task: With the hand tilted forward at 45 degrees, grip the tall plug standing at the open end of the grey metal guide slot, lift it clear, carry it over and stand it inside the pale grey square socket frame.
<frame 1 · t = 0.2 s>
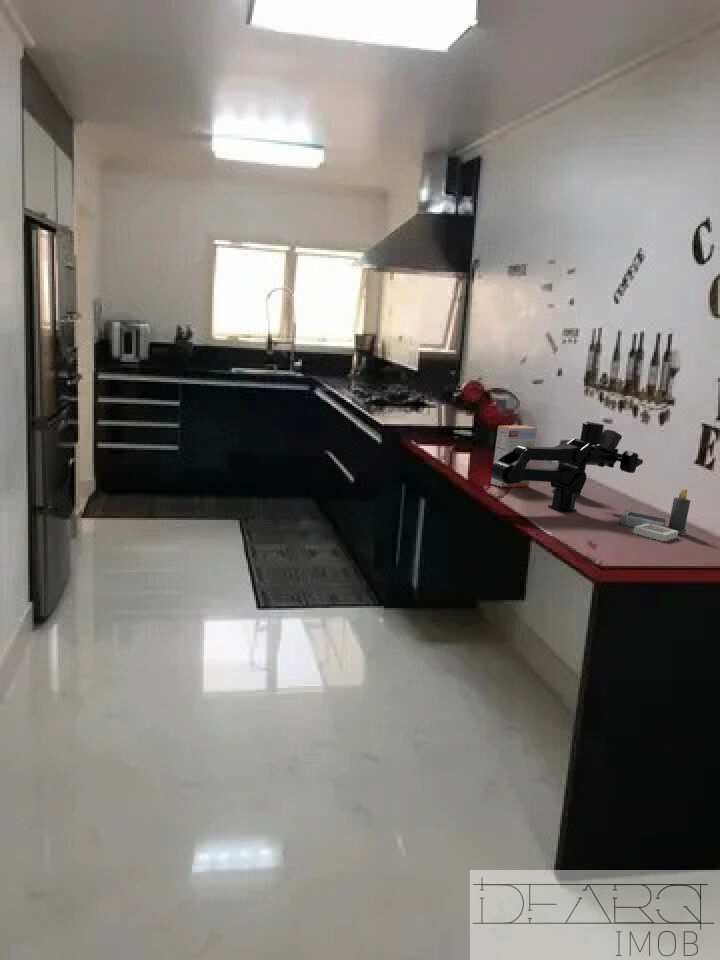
hand: (631, 458, 256), 17 cm above the table, tool horizontal, fingers open, 9 cm apart
cracker box: (509, 486, 277), on the table
coffee jar: (565, 494, 275), on the table
socket: (655, 535, 227), on the table
guide block: (650, 527, 237), on the table
plug: (675, 532, 234), on the table
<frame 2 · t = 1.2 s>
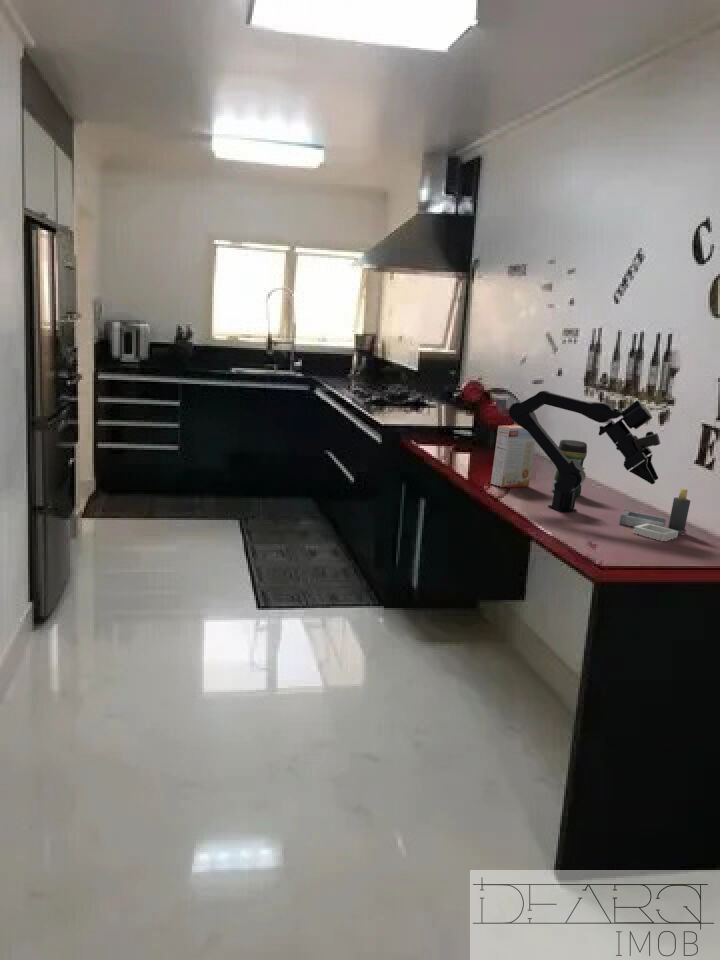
hand: (655, 481, 235), 14 cm above the table, tool tilted 45°, fingers open, 9 cm apart
nothing on the table moved.
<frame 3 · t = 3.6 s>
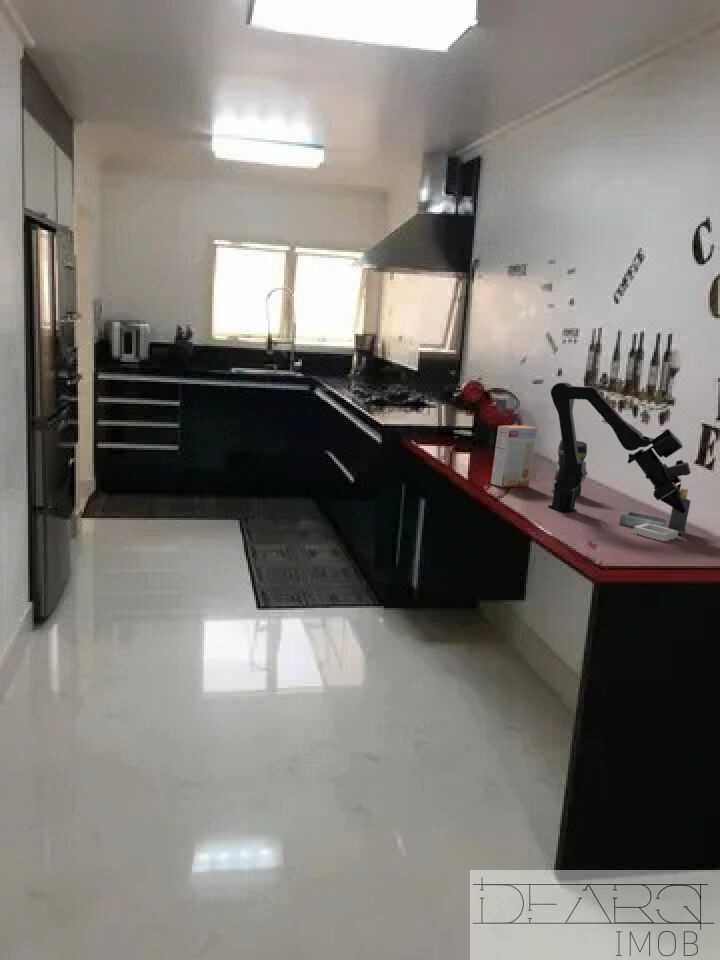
hand: (685, 510, 232), 7 cm above the table, tool tilted 45°, fingers closed on plug, 4 cm apart
plug: (675, 532, 234), on the table, touching gripper
everything else where it was.
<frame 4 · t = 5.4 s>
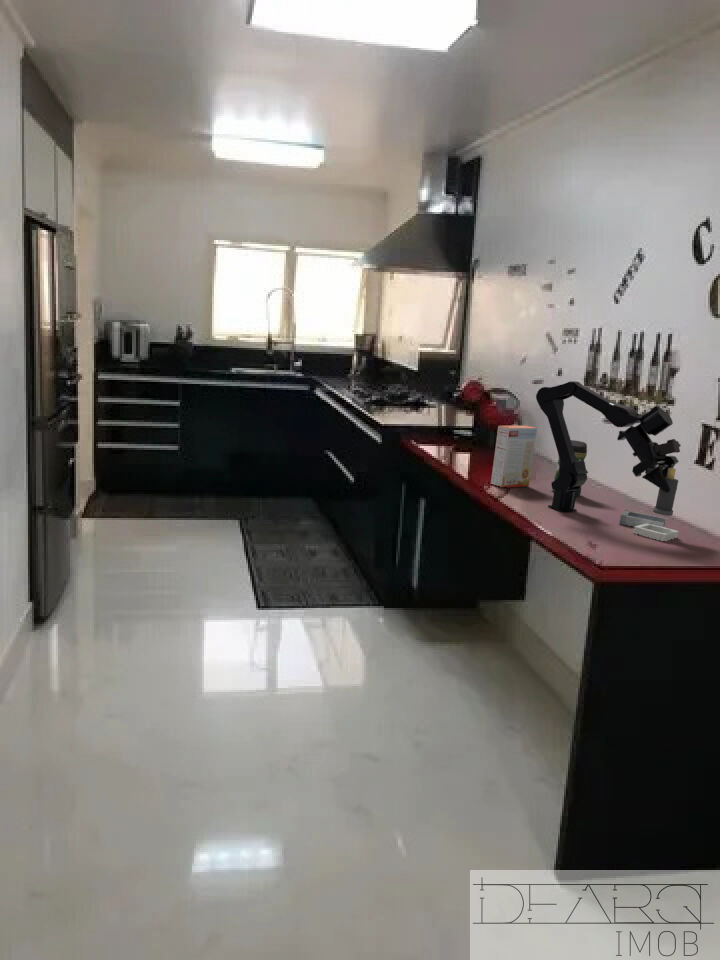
hand: (672, 491, 224), 13 cm above the table, tool tilted 45°, fingers closed on plug, 4 cm apart
plug: (662, 513, 226), point 7 cm above the table, touching gripper
everything else where it was.
when the fingers open (8 cm above the table, at t = 6.9 s): plug stays where it is, resting in socket.
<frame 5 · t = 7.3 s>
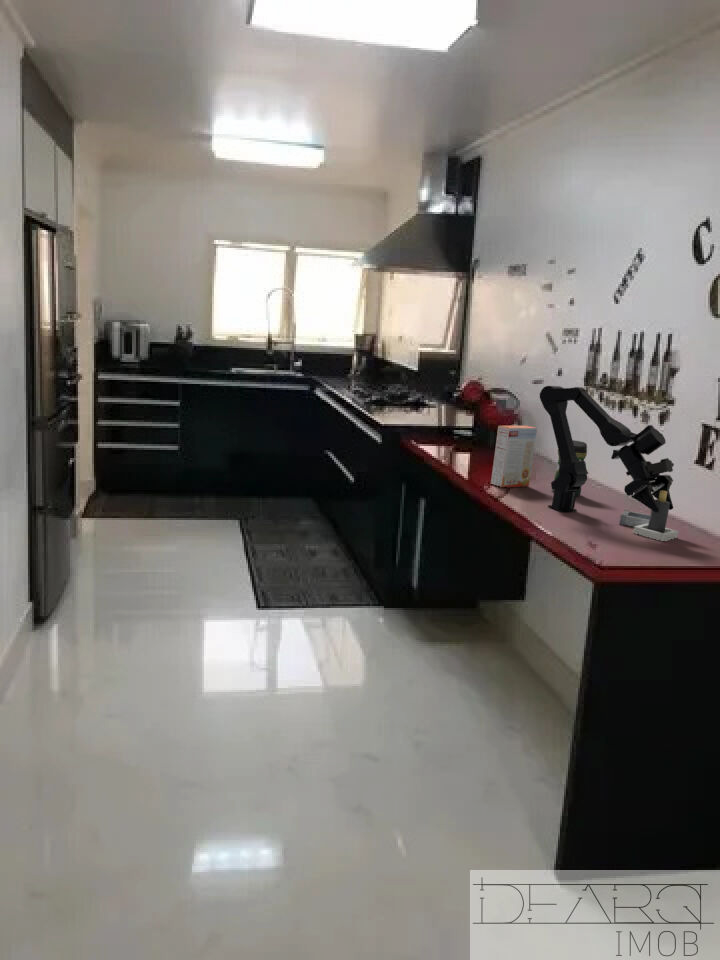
hand: (664, 510, 224), 8 cm above the table, tool tilted 45°, fingers open, 8 cm apart
plug: (655, 535, 227), resting in socket
everything else where it was.
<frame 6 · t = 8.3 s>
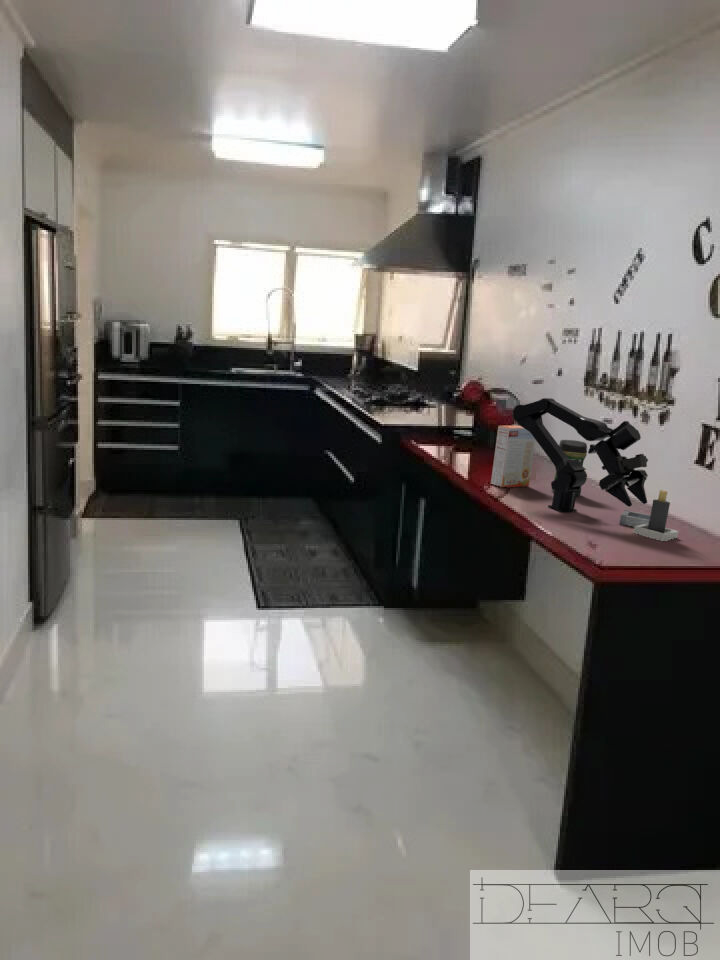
hand: (638, 504, 230), 7 cm above the table, tool tilted 45°, fingers open, 9 cm apart
nothing on the table moved.
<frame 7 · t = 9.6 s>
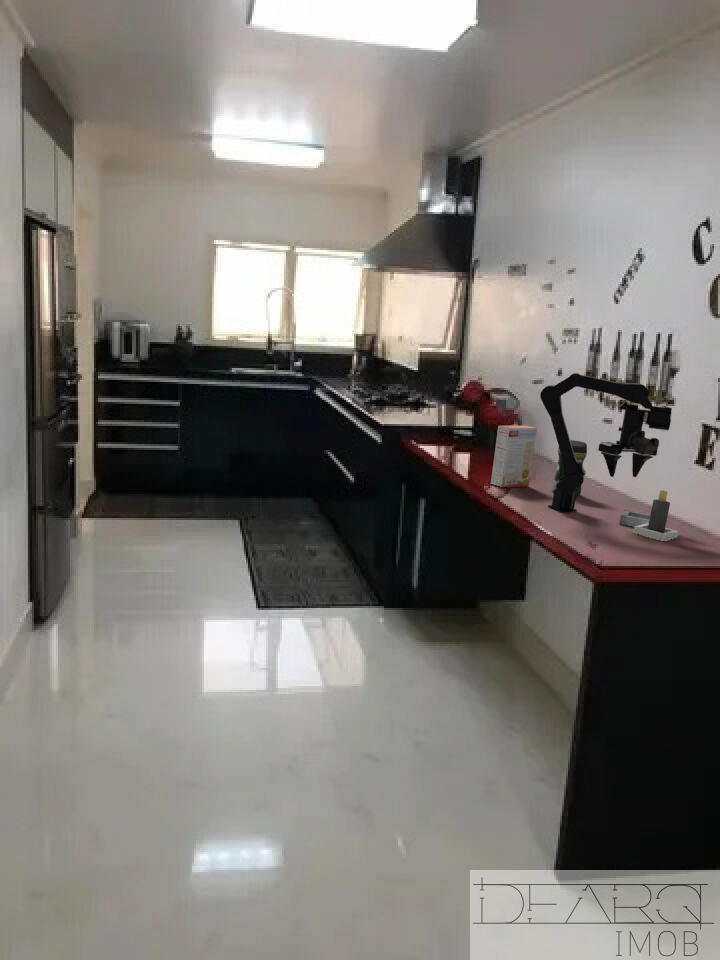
hand: (623, 476, 241), 13 cm above the table, tool pointing down, fingers open, 9 cm apart
nothing on the table moved.
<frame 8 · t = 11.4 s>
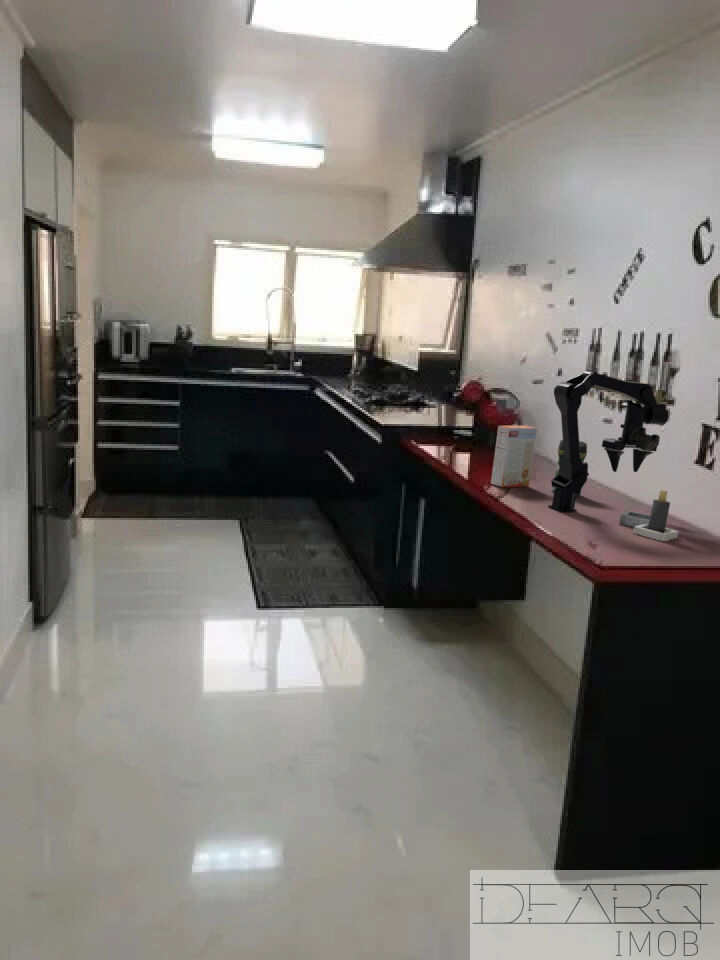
hand: (624, 471, 252), 13 cm above the table, tool pointing down, fingers open, 9 cm apart
nothing on the table moved.
at the end: plug 0.1 cm from the socket (horizontally); plug tilted 0°; plug resting in socket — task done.
